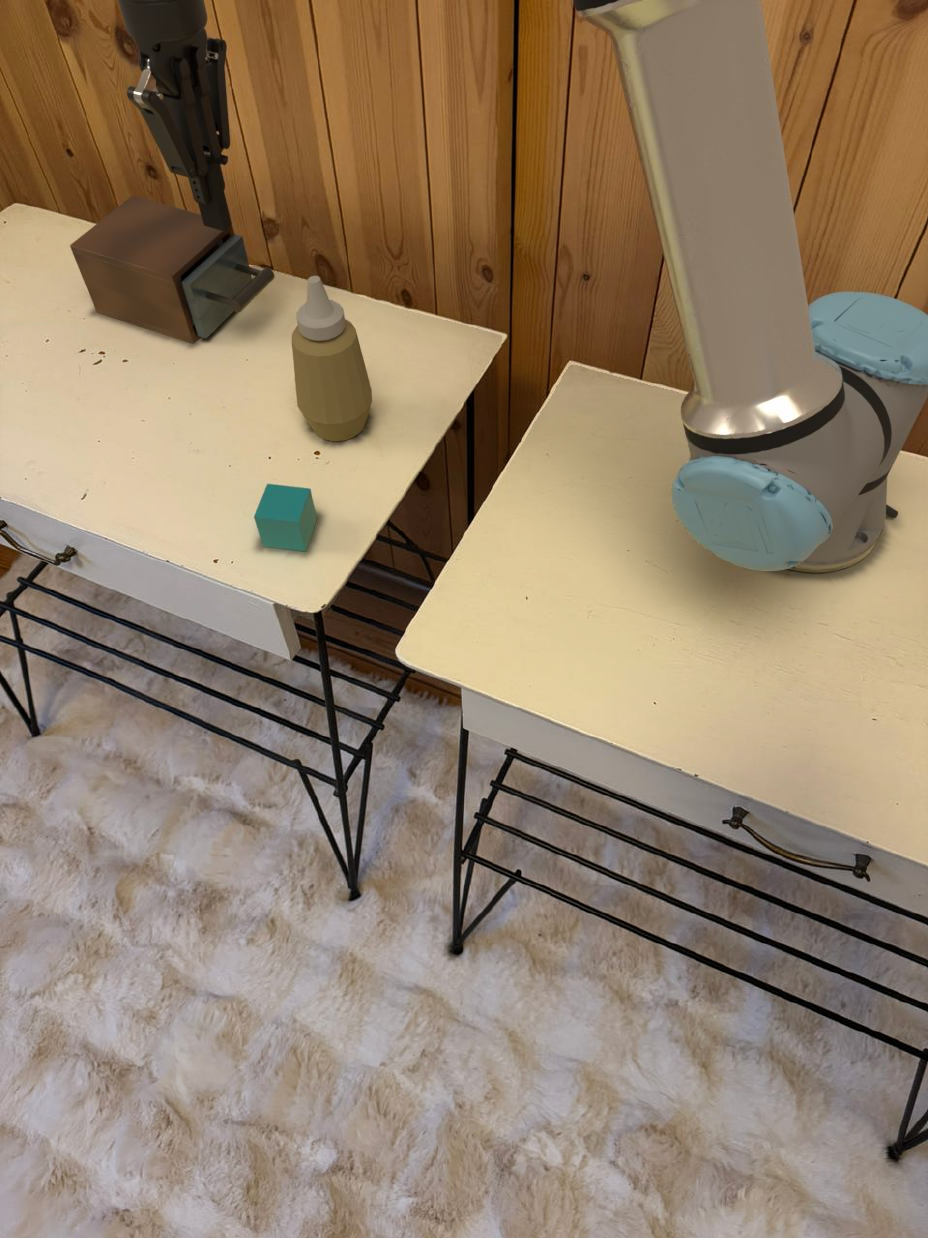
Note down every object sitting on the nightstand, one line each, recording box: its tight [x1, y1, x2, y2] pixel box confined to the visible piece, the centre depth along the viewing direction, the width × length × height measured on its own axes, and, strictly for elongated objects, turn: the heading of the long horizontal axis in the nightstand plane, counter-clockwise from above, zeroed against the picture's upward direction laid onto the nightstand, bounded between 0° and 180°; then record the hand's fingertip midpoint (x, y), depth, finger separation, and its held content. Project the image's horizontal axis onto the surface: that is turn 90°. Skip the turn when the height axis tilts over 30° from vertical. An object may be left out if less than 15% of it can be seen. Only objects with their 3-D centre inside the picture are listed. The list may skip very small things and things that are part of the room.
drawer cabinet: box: [69, 195, 235, 345], centre depth 110 cm, size 15×12×9 cm
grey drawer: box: [178, 233, 275, 339], centre depth 109 cm, size 18×10×7 cm, turn 64°
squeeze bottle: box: [291, 275, 373, 442], centre depth 93 cm, size 8×8×18 cm
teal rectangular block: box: [253, 483, 318, 552], centre depth 90 cm, size 4×4×4 cm
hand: (217, 224), depth 101 cm, fingers closed
